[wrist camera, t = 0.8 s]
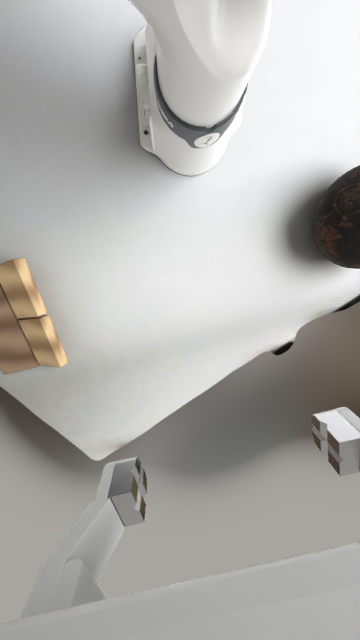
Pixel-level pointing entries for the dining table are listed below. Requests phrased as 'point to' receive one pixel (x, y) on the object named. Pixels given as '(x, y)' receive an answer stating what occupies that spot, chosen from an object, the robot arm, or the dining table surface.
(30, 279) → the plank
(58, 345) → the plank
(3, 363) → the base board
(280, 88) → the dining table surface
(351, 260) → the dark brown round bottle
